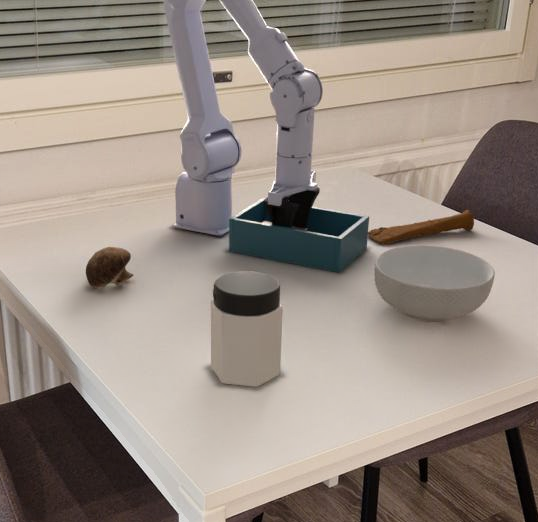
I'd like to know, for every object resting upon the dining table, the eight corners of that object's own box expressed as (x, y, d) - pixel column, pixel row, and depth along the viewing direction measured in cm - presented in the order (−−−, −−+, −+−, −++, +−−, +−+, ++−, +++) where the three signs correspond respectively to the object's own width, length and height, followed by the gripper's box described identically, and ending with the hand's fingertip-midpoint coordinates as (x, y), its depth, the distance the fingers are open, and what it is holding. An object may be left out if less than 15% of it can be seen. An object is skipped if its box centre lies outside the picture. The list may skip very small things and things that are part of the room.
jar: (243, 350, 128) (245, 264, 121) (291, 370, 123) (296, 281, 117) (197, 373, 122) (196, 284, 115) (246, 394, 118) (248, 303, 111)
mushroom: (152, 261, 145) (125, 229, 142) (128, 297, 141) (99, 265, 138) (120, 273, 151) (93, 243, 148) (96, 308, 147) (68, 278, 144)
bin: (228, 251, 159) (228, 218, 156) (261, 229, 168) (262, 197, 165) (338, 272, 152) (341, 239, 149) (366, 248, 162) (369, 216, 159)
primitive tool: (380, 244, 163) (382, 224, 161) (365, 234, 167) (366, 214, 165) (476, 233, 169) (479, 213, 167) (459, 223, 173) (462, 204, 172)
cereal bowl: (414, 344, 131) (420, 295, 127) (349, 300, 143) (352, 254, 139) (511, 322, 137) (520, 275, 133) (441, 282, 150) (447, 238, 146)
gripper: (298, 168, 145) (294, 254, 153) (334, 146, 156) (329, 227, 164) (256, 161, 148) (254, 246, 155) (295, 140, 159) (291, 221, 166)
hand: (290, 236), depth 160 cm, fingers open, 6 cm apart
